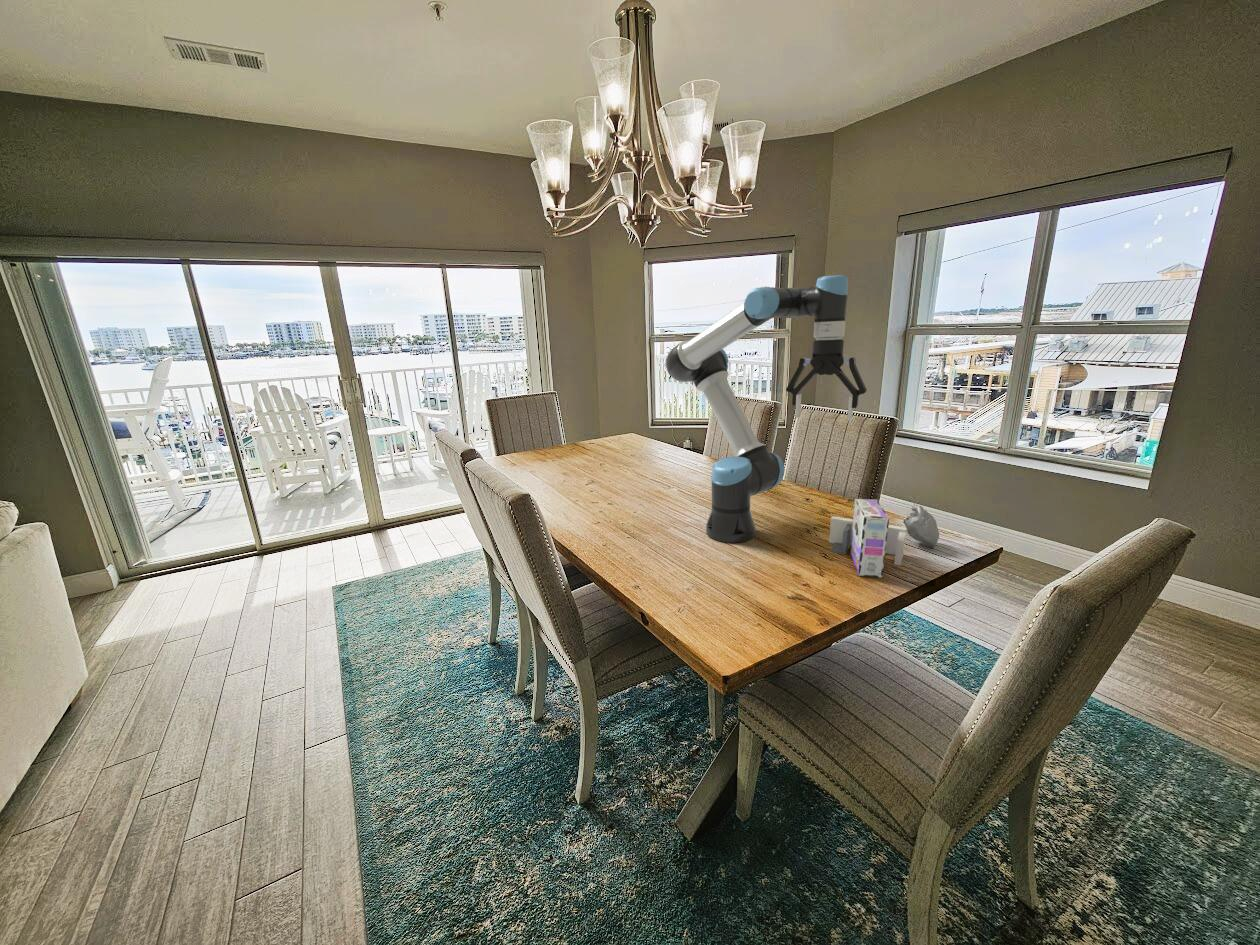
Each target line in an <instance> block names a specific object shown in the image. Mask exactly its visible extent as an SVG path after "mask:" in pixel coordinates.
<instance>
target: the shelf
mask: <svg viewBox="0 0 1260 945" xmlns="http://www.w3.org/2000/svg"><path fill="white" fill-rule="evenodd" d="M847 523H848V524H851V533H850V544H849V548H851V539H852V527H853V519H852V518H847V517H846V518H845V517H839V516H831V517H830V523H829V524H830V528H829V536H828V538H829V539H828V543H830V544H832V545H833V544H834V542H837V543H842V542H843V531H844V529H845V527H846V525H847ZM906 534H907V528H906V527H905V526H898V525H891V524H890V525H888V533H887V541H886V549H885V554H888V555H893V556H894V565H897V566H902V562H903V561H902V560H903V557H904V552H905V551H904V550H905V544H906V537H907V535H906Z"/></svg>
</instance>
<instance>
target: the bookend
mask: <svg viewBox="0 0 1260 945" xmlns="http://www.w3.org/2000/svg"><path fill="white" fill-rule="evenodd" d="M850 533H851V524H848V523H847V525H846V527H845V529H844V531H843V542H842V543H837V542H834V544H833V543H832V546H831V548H830V550H829V552H831V553H833V554H839V555H846V554H847V552H848V550H849V548H850V546H849V544H850Z"/></svg>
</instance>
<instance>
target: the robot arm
mask: <svg viewBox="0 0 1260 945" xmlns="http://www.w3.org/2000/svg"><path fill="white" fill-rule="evenodd" d="M848 290H849V279H848V277H847V276H846V275H844V274H837V275H826V276H825V275H823V276H820V277H818V278H817V280H816V284H815V285H813V286H807V287H806V286H805V287H770V286H761V287H755V288H752V289H751V290H749V291H748V293H747V295H746V297H745V299H744V301H743V302H742V303H741V304H740V305H738V306H737V307H735V308H734V309H733V310H731V311H730V312H728V313H727V314H725V315H723V316H722V317H721V318H719V319H718V320H717V321H715V322H714V323H712V324H711V325H709V326H708V327H706V329H703V330H702V331H701V332H699V333H698V334H697V335H695V336H694V337H693V338H691V339H690V340H688V339H687V340H682V341H680V343H678V344H677V345H676V346H674V347H672V349H671V350H670V351H669V352H668V354H667V356H666V359H665V367H666V370H667V373H668V375H670V377H671V378H672V379H674V380H675V381H678V382H680V383H681V382H682V383H690V382H693V384H694V386H695V388H696V390H697V391H699V392H702V393H703V394H704V396H705V397H706V398H705V399H706V400H707V402H708V404H709V406H710V408H711V410H712V412H713V414H714V416H715V418H716V420H717V422H718V424H719V426H720V428H721V430H722V432H723V434H724V436H725V438H726V440H727V443H728V444H729V446H730V448H731V450H732V451H733V456H731V457H723V458H721V459H718V460H717V461H715V462H714V463H713V464H712V465H713V466H712V470H711V477H710V479H711V510H710V513H709V516H708V519H707V521H706V525H705V534H706V535H707V536H708V537H709V538H710V539H712V540H714V541H715V540H716V541H718V542H723V543H730V544H731V543H734V544H735V543H745V542H747V541H750V540H752V539H753V538H754V537H755V536H756V525H755V522H754V519H753V516H752V512H751V497H753V496H756V495H758V494H761V493H763V492H768V491H771V490H772V489H773V488H776V487H777V486H779V485H780V483H781V482H782V481H783V479H784V475H785V466H784V461H783V460H782V458H781V457H780V455H778V454H776V453H774V452H771V451H769V449H768V447H767V445H766V444H765V443H762V442H760V441H758V438H757V436H756V434H755V433H754V430H753V428H752V427H751V425H750V423H749V421H748V419H747V416H746V415H745V413H744V411H743V409H742V407H741V405H740V403H739V401H738V399H737V398H736V396H735V393H734V391H733V389H732V388H731V386H730V384H729V382H728V380H727V379H728V376H729V372H728V370H729V356H728V354H727V353H726V351H725V348H727V347H728V346H730V345H731V344H733V343H734V342H736V341H738V340H739V339H740V338H742V337H743V336H746V335H747V334H748V333H750V332H752V331H754V330H755V329H756V328H758V327H760V326H762V325H763V324H765V323H767V322H768V321H770V320H771V319H779V318H781V319H782V318H784V319H793V318H803V317H814V323H813V338H815V339H814V340H813V342H812V356H811V358H807V357H801V358H799V362H798V367H797V368H796V370H795V372H794V374H793V376H792V377H791V379H790V381H789V383H788V385H787V387H786V389H785V391H786V392H788V393H791V394H792V400H791V401H792V404H791V405H792V406H795V413H794V417H795V419H799V418H800V417H801V413H802V412H801V410H802V397H803V396H802V393H800V392H801V390H803V388H804V387H805V386H806V385H807V384H808V383H809V382H810V381H811V380H812V379H813V378H814V377H815V376H816V375H818V376H824V375H827V376H832V375H835V376H836V377H837V378H838V379H839V380H840V381H841V382H842V384H843V385H844V386H845V388H847V390H848V391H849V393H851V394H850V395H849V396H848V404H847V405H848V408H847V419H846V421H847V422H851V421H852V420H853V415H854V414H853V412H854V409H857V407H858V405H859V404H858V403H859V396H860V395H864V394H865V393H867V391H868V389H867V388H866V385H865V383H864V381H863V378H862V376H861V374H860V372H859V369H858V367H857V358H856V357H855V356H852V357H848V358H844V343H845V341H844V339H843V338H844V337H845V334H846V333H845V332H846V330H845V329H846V315H847V314H846V313H847V303H848V295H849V291H848ZM809 364H810V365H811V367H812V369H811V371H810V372H809V373H808V374H807V375H806V376H805V377H804V378H803V380H801V381H800V383H799V384H798V385H797V382H798V381H799V379H800V376H801V375H802V374H803V371H804V370H805V367H807V366H808V365H809ZM844 364H845V366H847V367H848V368H849V370H850V372H851V375H852V377H853V379H854V382H855V384H856V385H857V388H858V389H857V388H856V386H855V385H854V384H853V383H852V381H851V380H850V379H849V377H847V375H846V373H845V372H844V371H843V370H842V368H841V367H843V365H844ZM796 385H797V386H796Z"/></svg>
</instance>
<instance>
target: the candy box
mask: <svg viewBox="0 0 1260 945" xmlns="http://www.w3.org/2000/svg"><path fill="white" fill-rule="evenodd" d="M853 504H854V505H853V513H852V514H853V516H852V518H853V527H852V539H851V547H850V553H849V554H850V556H851V559H852V562H853V564H854V567H855V570H856V572H857V574H858V576H861V577H870V578H871V577H872V578H883V574H884V565H885V557H886V556H885V555H886V553H885V549H886V541H887V533H888V525H889V523H890V517H889V515H888V514H887V513H886V511H885V509H884V508H883V507H882V505H881V503H880V502H879V501H878V499H876V498H875V499H870V498H854V502H853Z"/></svg>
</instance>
